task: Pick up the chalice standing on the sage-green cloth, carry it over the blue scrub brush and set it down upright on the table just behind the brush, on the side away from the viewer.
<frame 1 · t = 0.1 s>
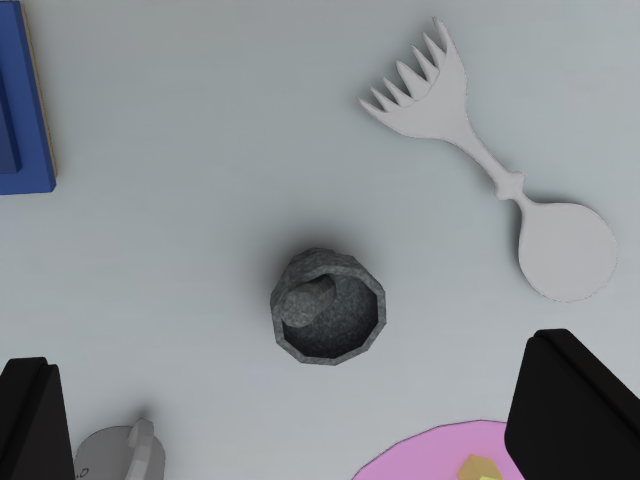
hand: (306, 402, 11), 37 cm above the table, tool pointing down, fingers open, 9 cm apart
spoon: (496, 178, 53), on the table
brush: (9, 95, 42), on the table
mortar and pestle: (310, 272, 53), on the table
mug: (131, 446, 58), on the table
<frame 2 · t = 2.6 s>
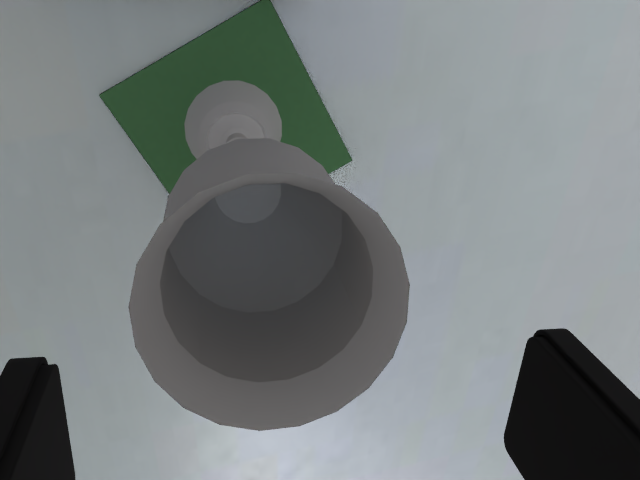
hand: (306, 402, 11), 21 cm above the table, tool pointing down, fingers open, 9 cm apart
chalice: (233, 129, 30), resting on green cloth
green cloth: (233, 129, 30), on the table
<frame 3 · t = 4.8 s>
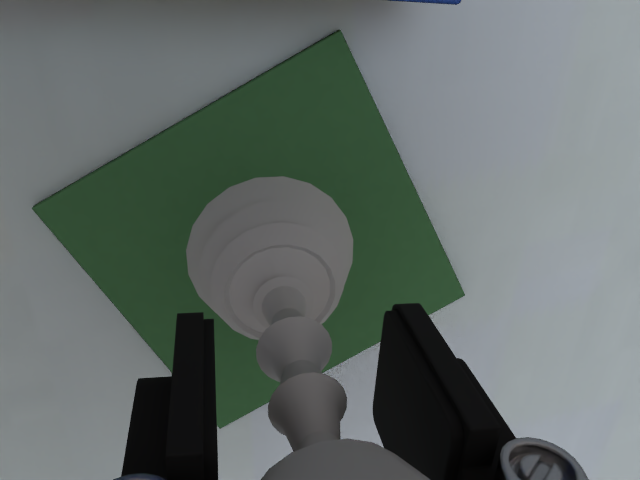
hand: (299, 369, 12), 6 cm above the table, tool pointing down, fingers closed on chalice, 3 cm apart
chalice: (271, 253, 17), resting on green cloth, touching gripper
green cloth: (271, 253, 17), on the table
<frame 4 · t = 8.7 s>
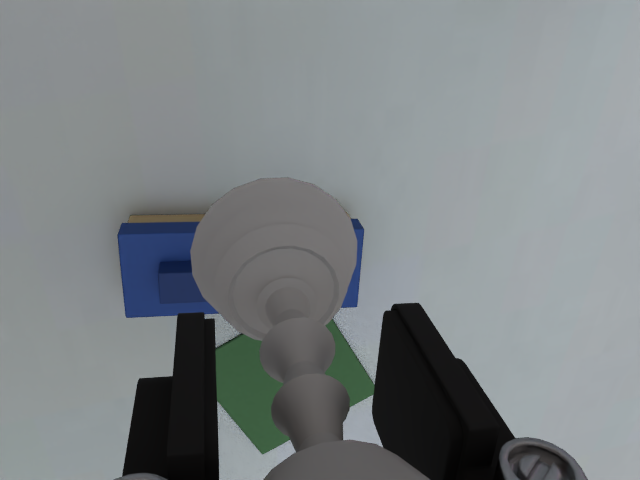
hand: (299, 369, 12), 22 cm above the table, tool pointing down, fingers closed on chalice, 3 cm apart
chalice: (275, 255, 18), point 16 cm above the table, touching gripper
green cloth: (287, 377, 39), on the table
brush: (242, 247, 34), on the table
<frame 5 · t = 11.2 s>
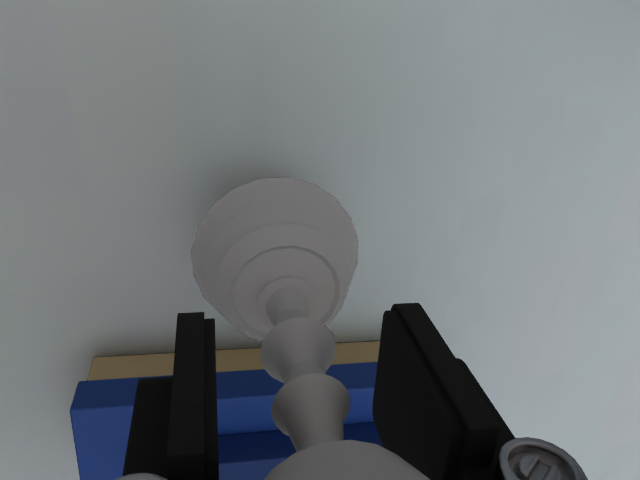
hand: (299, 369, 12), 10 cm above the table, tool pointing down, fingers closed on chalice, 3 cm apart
chalice: (276, 254, 17), point 4 cm above the table, touching gripper
brush: (255, 390, 24), on the table
when the fingers open (5 cm above the table, at t = 12.6 s): chalice stays where it is, on the table.
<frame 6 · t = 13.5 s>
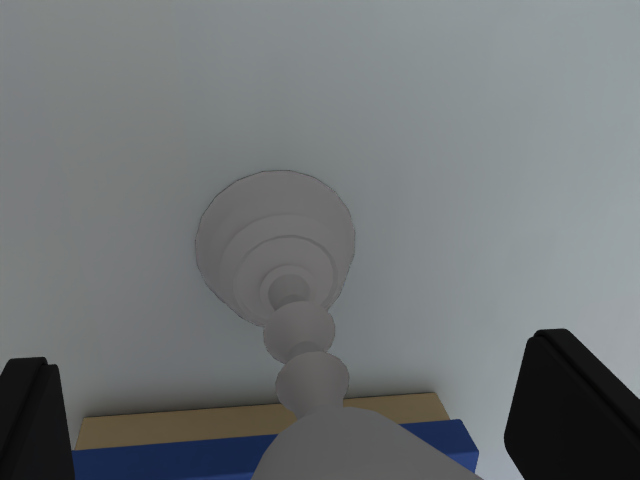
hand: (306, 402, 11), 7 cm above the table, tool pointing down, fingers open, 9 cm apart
chalice: (276, 245, 18), on the table
brush: (268, 450, 21), on the table
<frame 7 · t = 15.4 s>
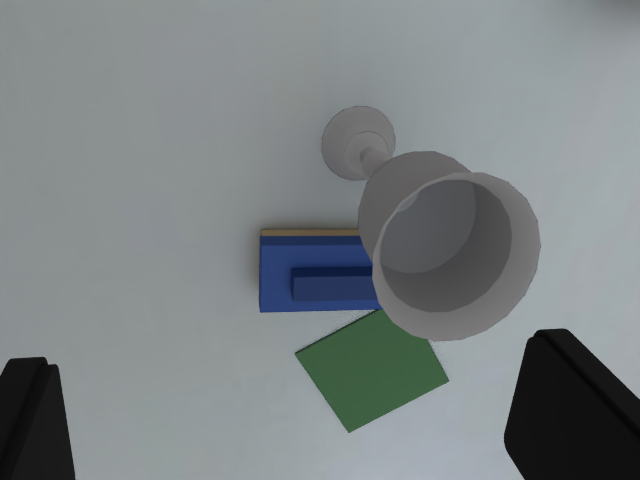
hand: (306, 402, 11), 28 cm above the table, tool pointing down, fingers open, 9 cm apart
chalice: (358, 143, 39), on the table
green cloth: (374, 366, 46), on the table
brush: (347, 256, 42), on the table
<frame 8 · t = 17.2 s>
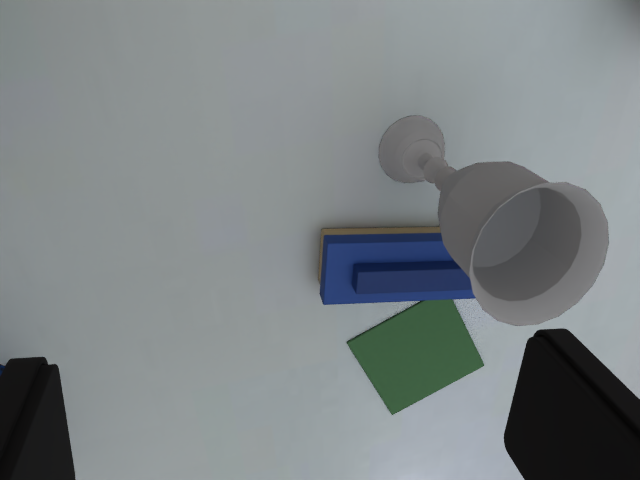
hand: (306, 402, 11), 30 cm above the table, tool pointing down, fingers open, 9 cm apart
chalice: (411, 149, 42), on the table
green cloth: (417, 353, 50), on the table
brush: (397, 252, 46), on the table
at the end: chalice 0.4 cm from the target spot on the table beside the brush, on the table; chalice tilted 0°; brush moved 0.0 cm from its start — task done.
